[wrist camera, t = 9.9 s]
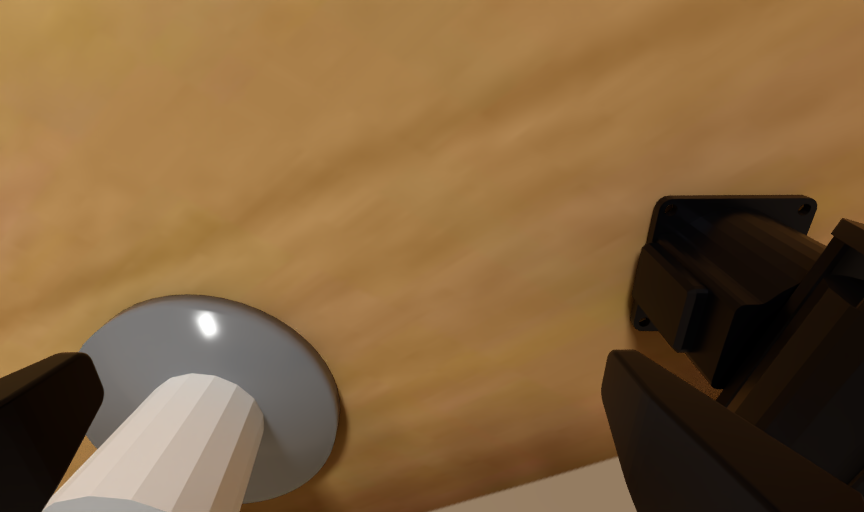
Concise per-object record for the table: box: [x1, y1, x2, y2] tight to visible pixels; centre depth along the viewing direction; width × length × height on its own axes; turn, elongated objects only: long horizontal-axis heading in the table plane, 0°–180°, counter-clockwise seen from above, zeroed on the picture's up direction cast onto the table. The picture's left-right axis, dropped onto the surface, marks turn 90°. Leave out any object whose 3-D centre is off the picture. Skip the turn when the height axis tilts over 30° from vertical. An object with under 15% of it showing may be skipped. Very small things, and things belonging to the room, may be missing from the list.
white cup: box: [42, 373, 264, 512], centre depth 20 cm, size 7×7×7 cm
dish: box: [79, 294, 340, 504], centre depth 23 cm, size 13×13×1 cm
